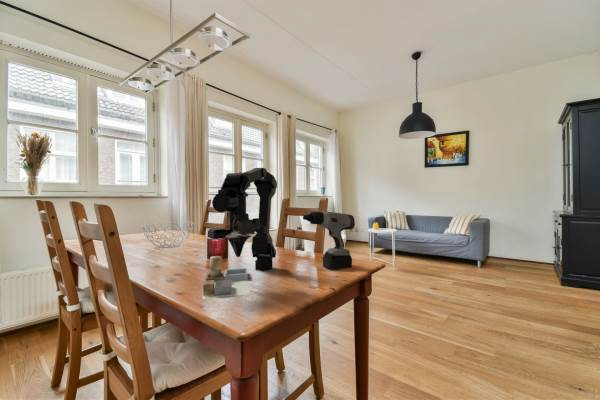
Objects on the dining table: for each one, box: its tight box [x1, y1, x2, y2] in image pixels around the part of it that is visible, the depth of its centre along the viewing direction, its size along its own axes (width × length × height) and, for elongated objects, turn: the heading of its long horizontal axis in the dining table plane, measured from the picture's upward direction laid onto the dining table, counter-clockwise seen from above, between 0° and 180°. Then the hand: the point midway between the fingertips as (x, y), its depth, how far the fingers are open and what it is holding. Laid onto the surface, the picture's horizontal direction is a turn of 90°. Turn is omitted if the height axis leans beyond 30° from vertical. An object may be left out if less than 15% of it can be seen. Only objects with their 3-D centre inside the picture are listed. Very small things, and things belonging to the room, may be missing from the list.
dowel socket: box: [205, 271, 225, 282], centre depth 96 cm, size 6×6×2 cm
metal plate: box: [215, 279, 232, 296], centre depth 84 cm, size 5×7×2 cm
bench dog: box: [202, 280, 214, 296], centre depth 83 cm, size 3×4×3 cm
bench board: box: [201, 273, 251, 300], centre depth 91 cm, size 14×25×1 cm, turn 14°
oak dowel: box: [209, 255, 223, 277], centre depth 96 cm, size 4×4×8 cm
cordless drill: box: [302, 210, 356, 271], centre depth 115 cm, size 8×24×25 cm, turn 113°
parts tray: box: [224, 267, 249, 281], centre depth 98 cm, size 8×8×2 cm
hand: (238, 256), depth 89 cm, fingers closed
